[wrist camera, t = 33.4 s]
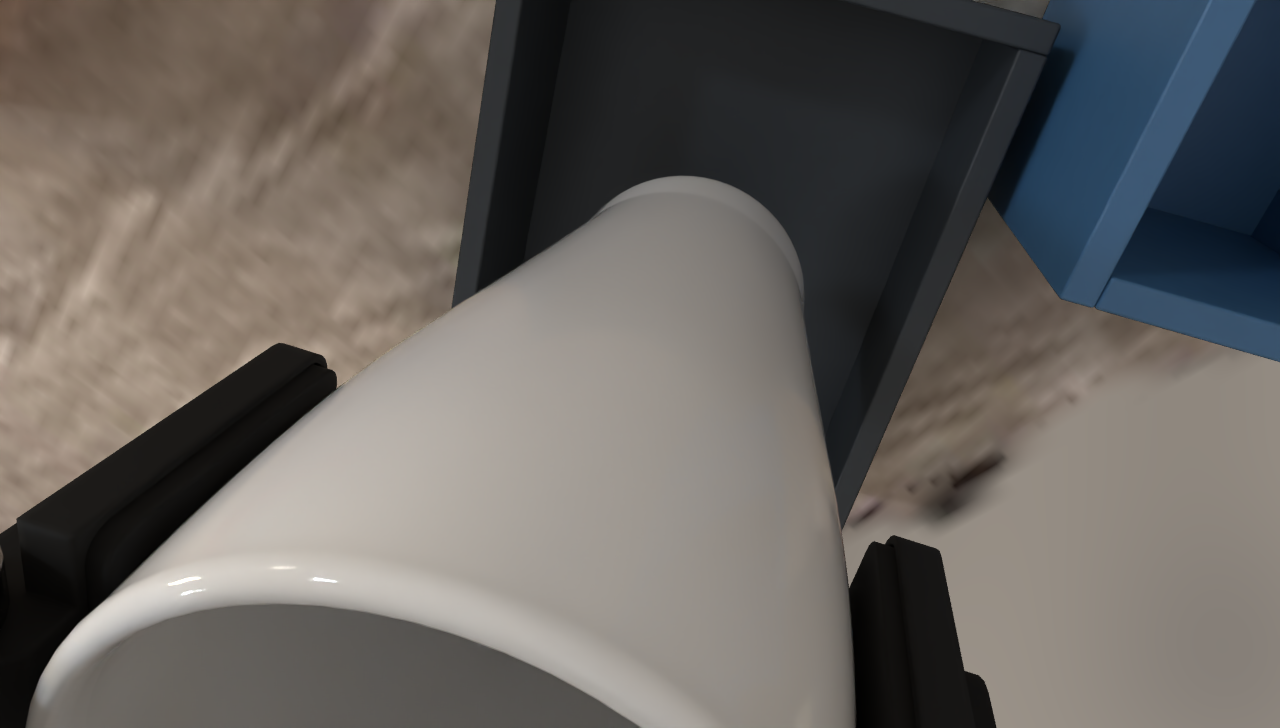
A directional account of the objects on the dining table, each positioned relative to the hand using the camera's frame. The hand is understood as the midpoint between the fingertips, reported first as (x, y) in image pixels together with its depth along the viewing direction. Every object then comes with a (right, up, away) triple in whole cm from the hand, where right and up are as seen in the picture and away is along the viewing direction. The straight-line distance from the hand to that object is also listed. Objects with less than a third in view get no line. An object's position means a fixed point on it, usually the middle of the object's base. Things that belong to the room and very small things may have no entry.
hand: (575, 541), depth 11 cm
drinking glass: (+2, +4, +9) cm, 10 cm away
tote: (+3, +6, +13) cm, 15 cm away
